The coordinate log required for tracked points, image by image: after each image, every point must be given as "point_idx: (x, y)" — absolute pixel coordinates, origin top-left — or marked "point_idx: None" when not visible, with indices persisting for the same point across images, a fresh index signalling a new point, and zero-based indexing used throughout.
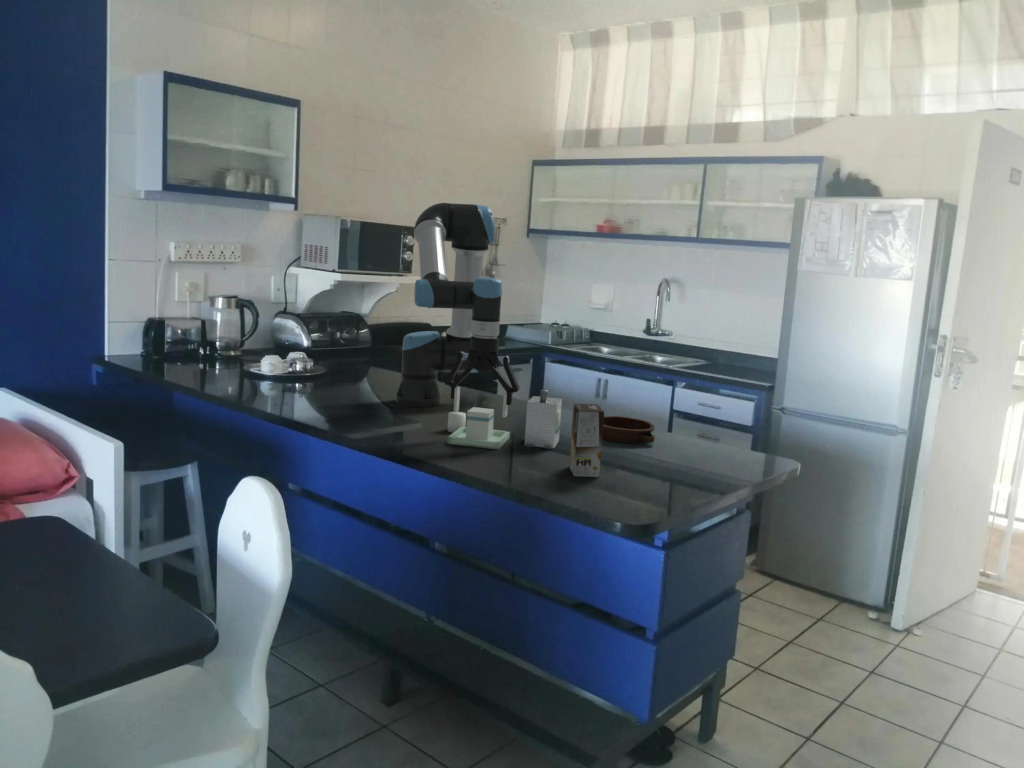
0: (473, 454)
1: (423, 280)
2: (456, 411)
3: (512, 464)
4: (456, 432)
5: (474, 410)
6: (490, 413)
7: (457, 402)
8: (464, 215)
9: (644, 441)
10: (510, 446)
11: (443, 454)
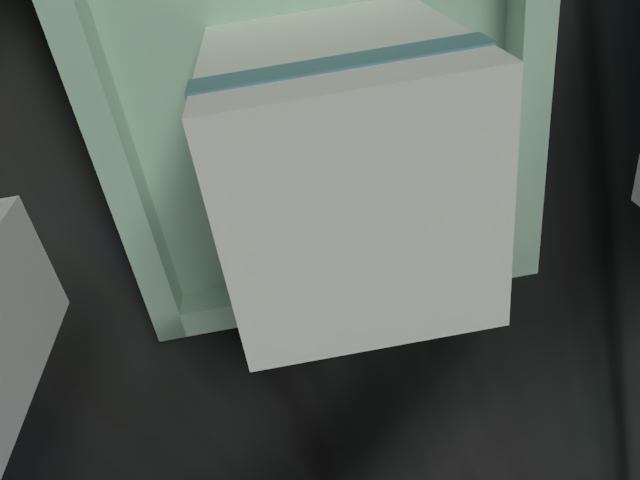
0: (407, 400)
1: None
2: (64, 300)
3: (627, 429)
4: (123, 181)
5: (303, 295)
6: (506, 256)
7: (18, 358)
8: None
9: None
10: (584, 123)
11: (269, 472)
